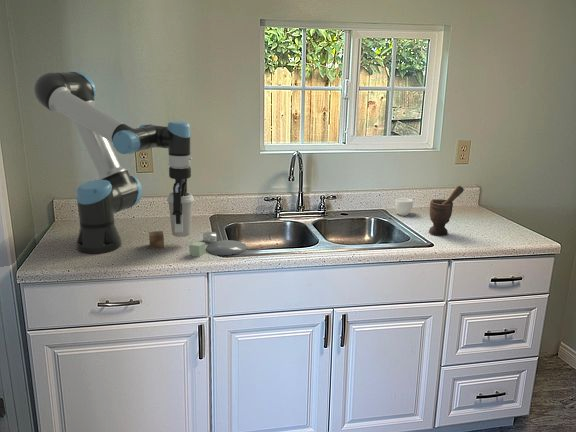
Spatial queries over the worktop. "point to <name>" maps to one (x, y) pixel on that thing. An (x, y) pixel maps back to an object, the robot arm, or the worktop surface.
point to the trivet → (226, 247)
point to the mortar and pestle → (442, 212)
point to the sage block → (197, 249)
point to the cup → (403, 206)
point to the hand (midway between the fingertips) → (181, 228)
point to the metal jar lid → (209, 237)
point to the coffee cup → (186, 211)
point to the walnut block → (156, 239)
